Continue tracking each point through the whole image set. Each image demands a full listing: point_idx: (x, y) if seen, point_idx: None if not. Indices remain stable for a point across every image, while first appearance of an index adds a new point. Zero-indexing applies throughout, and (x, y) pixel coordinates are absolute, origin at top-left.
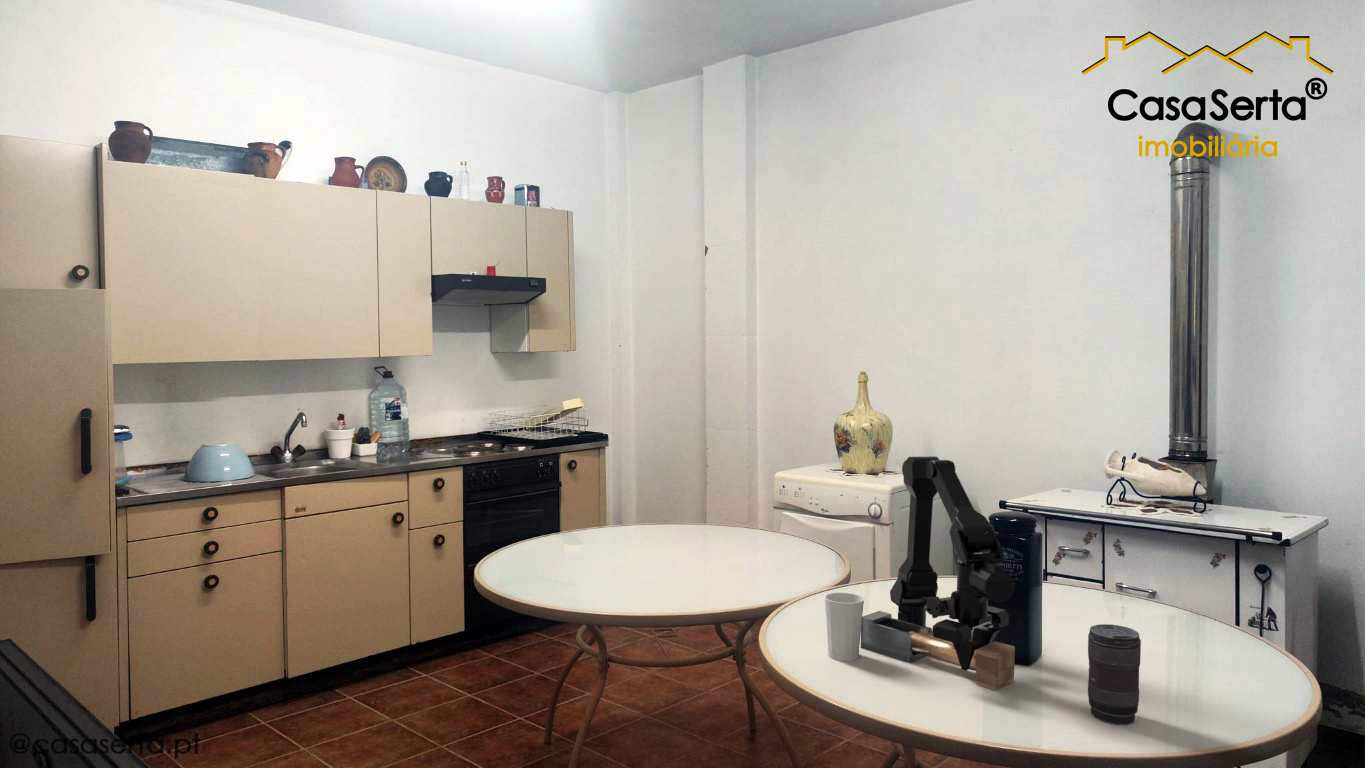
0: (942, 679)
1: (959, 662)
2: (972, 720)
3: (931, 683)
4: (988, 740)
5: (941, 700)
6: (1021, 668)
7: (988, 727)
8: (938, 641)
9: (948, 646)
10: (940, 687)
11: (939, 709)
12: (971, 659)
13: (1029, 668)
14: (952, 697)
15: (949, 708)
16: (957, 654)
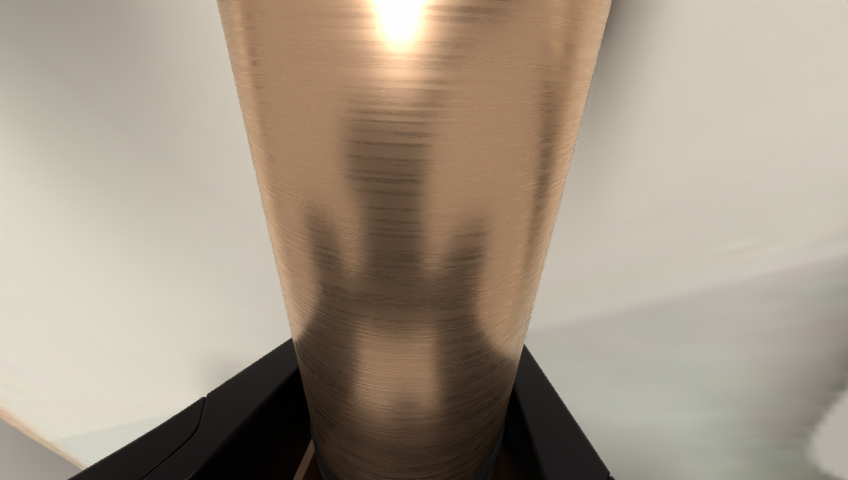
0: (237, 205)
1: (289, 339)
2: (87, 410)
3: (134, 186)
4: (63, 449)
5: (68, 304)
6: (760, 453)
7: (105, 441)
8: (256, 14)
9: (283, 270)
10: (148, 246)
11: (20, 325)
12: (302, 445)
13: (783, 477)
14: (131, 324)
15: (61, 345)
16: (218, 392)
